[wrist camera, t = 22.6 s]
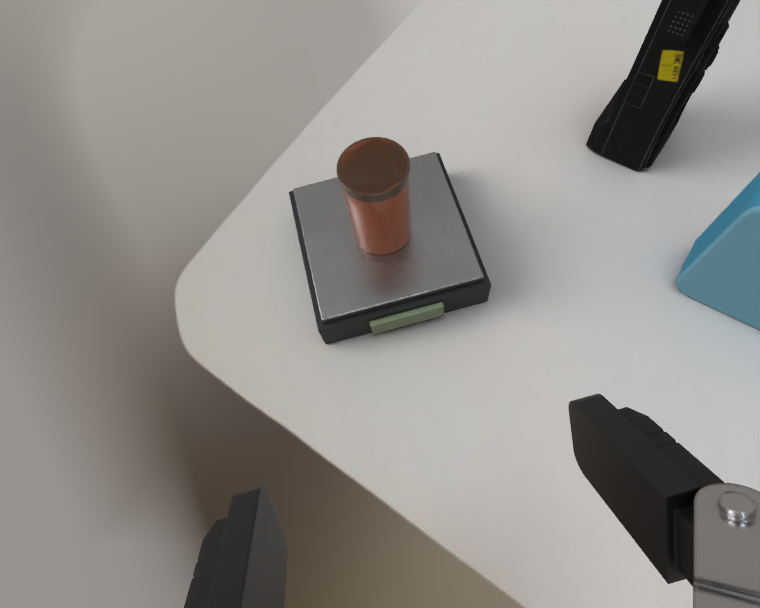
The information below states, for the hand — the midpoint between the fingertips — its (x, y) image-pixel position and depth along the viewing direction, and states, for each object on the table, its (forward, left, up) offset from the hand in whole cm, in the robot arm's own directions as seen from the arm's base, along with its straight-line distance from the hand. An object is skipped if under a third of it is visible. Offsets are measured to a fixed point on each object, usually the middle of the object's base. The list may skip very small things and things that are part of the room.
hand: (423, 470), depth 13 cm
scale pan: (+2, +21, -22) cm, 30 cm away
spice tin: (+2, +21, -21) cm, 30 cm away
